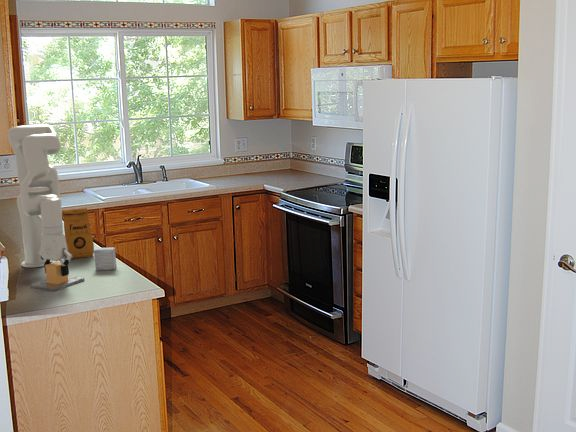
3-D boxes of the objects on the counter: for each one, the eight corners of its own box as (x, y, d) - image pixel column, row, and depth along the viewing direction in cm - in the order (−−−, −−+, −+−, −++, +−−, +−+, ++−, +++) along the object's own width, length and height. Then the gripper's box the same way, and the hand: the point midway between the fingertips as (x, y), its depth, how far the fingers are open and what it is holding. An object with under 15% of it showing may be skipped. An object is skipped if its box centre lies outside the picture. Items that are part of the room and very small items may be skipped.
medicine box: (116, 267, 294) (115, 247, 292) (114, 270, 290) (113, 249, 288) (97, 267, 294) (96, 247, 292) (95, 270, 289) (93, 250, 288)
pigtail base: (30, 287, 268) (29, 271, 266) (63, 276, 281) (61, 261, 280) (52, 291, 262) (50, 274, 260) (84, 280, 275) (83, 264, 274)
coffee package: (95, 258, 310) (91, 209, 306) (65, 261, 306) (61, 211, 302) (93, 253, 319) (90, 205, 315) (65, 255, 315) (61, 207, 311)
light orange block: (46, 282, 270) (45, 265, 269) (58, 278, 275) (56, 261, 274) (57, 284, 267) (55, 266, 266) (68, 280, 272) (66, 263, 271)
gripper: (29, 230, 268) (33, 273, 272) (61, 234, 260) (65, 279, 263) (44, 226, 275) (48, 269, 278) (76, 230, 266) (80, 274, 270)
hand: (56, 273), depth 271 cm, fingers open, 8 cm apart
